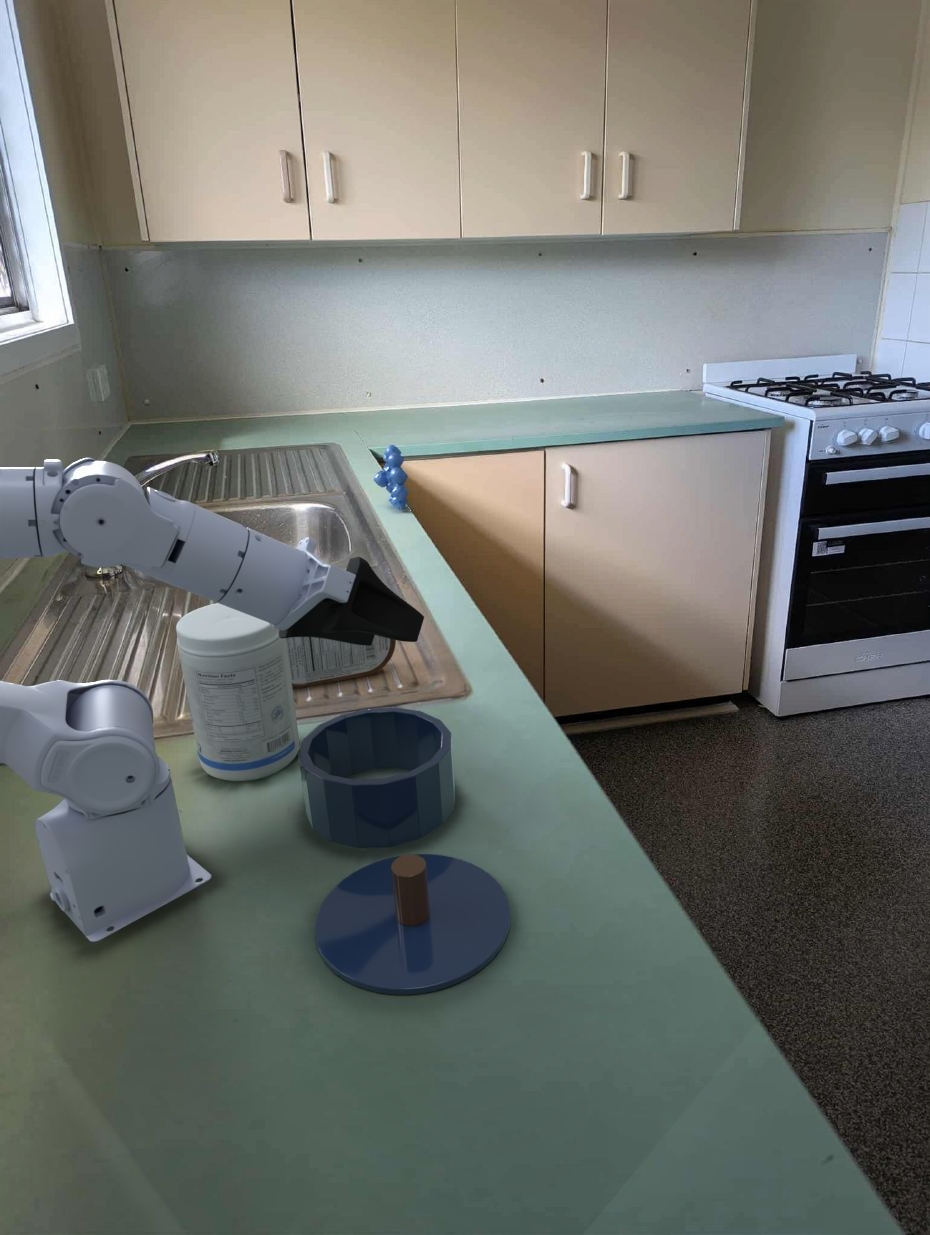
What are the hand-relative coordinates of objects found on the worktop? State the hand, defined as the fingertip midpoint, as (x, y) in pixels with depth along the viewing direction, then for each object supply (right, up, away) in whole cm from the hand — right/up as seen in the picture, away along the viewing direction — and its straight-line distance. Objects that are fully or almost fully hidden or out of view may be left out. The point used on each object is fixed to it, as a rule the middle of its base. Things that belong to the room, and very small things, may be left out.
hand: (395, 631), depth 68 cm
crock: (-2, -15, +8) cm, 17 cm away
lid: (+2, -20, -6) cm, 21 cm away
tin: (-9, -6, +32) cm, 34 cm away
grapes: (-9, +22, +102) cm, 105 cm away
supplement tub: (-15, -13, +16) cm, 26 cm away
